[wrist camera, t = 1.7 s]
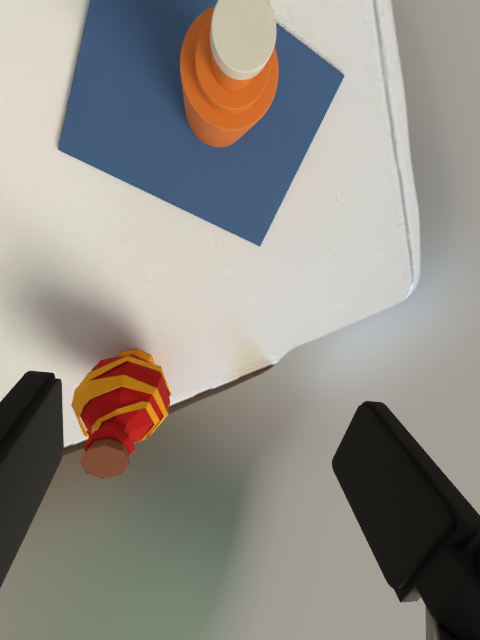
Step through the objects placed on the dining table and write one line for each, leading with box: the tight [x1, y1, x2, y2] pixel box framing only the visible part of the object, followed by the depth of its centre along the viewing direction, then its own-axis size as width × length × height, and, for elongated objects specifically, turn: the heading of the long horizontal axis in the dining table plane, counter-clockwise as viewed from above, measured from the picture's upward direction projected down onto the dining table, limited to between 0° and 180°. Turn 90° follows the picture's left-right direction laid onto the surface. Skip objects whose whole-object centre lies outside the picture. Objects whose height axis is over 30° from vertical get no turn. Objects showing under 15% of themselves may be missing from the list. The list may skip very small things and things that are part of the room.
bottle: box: [180, 0, 279, 147], centre depth 21 cm, size 6×6×17 cm
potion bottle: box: [71, 349, 171, 479], centre depth 32 cm, size 10×10×15 cm
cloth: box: [58, 0, 344, 246], centre depth 28 cm, size 22×18×1 cm
